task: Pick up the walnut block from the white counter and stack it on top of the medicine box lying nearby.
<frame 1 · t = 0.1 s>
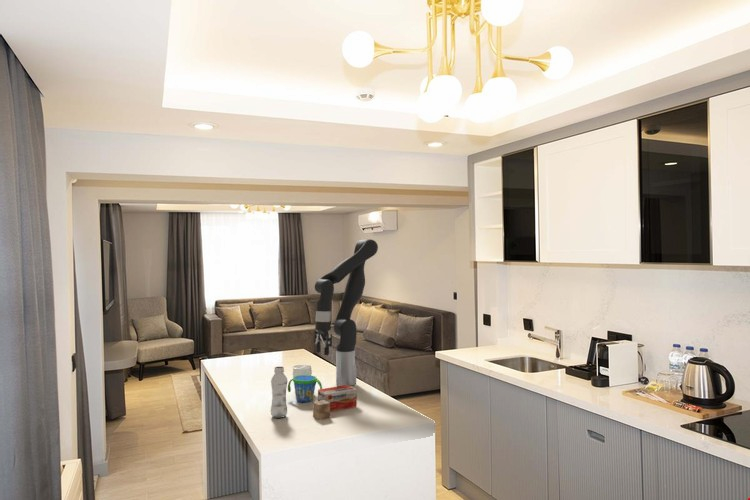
hand: (322, 353, 249), 17 cm above the countertop, tool pointing down, fingers open, 8 cm apart
walnut block: (321, 417, 206), on the countertop
cup: (302, 392, 243), on the countertop
medicine box: (337, 408, 220), on the countertop
snack cup: (304, 400, 230), on the countertop
plastic bottle: (279, 417, 207), on the countertop
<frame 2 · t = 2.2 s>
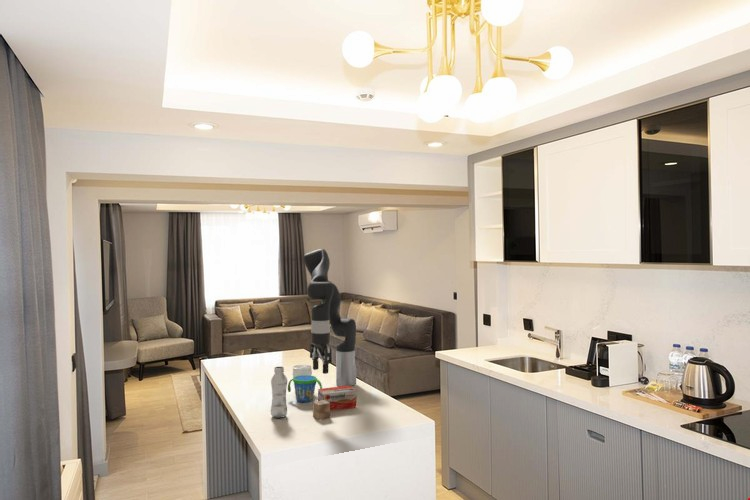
hand: (320, 371, 206), 18 cm above the countertop, tool pointing down, fingers open, 8 cm apart
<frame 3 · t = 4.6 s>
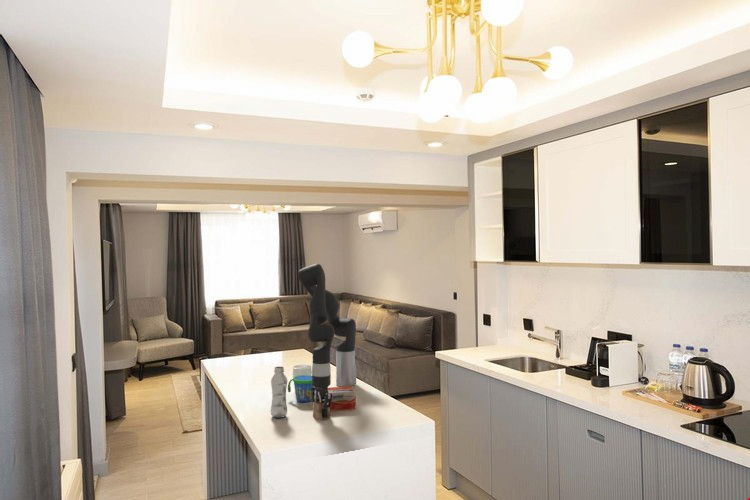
hand: (321, 415, 206), 1 cm above the countertop, tool pointing down, fingers closed on walnut block, 5 cm apart
walnut block: (321, 417, 206), on the countertop, touching gripper
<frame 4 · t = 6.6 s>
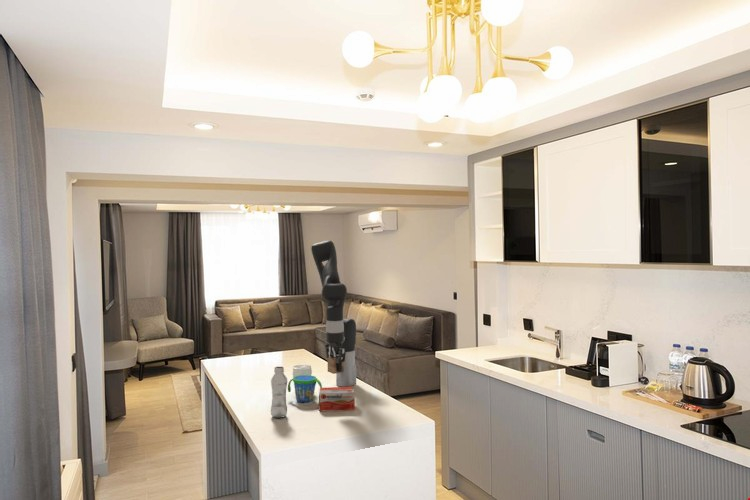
hand: (335, 370, 218), 16 cm above the countertop, tool pointing down, fingers closed on walnut block, 5 cm apart
walnut block: (335, 371, 218), point 16 cm above the countertop, touching gripper
when the fingers open (10 cm above the countertop, at t = 8.7 s): walnut block drops 1 cm, resting on medicine box.
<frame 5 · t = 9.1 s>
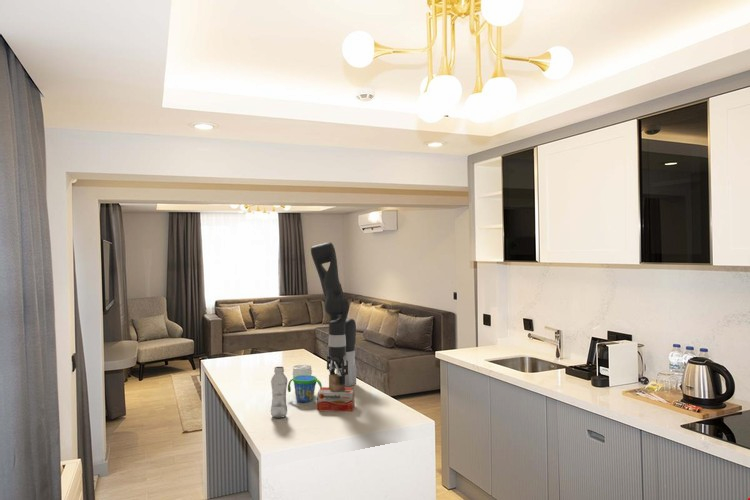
hand: (337, 382, 220), 11 cm above the countertop, tool pointing down, fingers open, 8 cm apart
walnut block: (336, 389, 220), point 8 cm above the countertop, touching medicine box
medicine box: (336, 408, 218), on the countertop, touching walnut block
everything else where it was.
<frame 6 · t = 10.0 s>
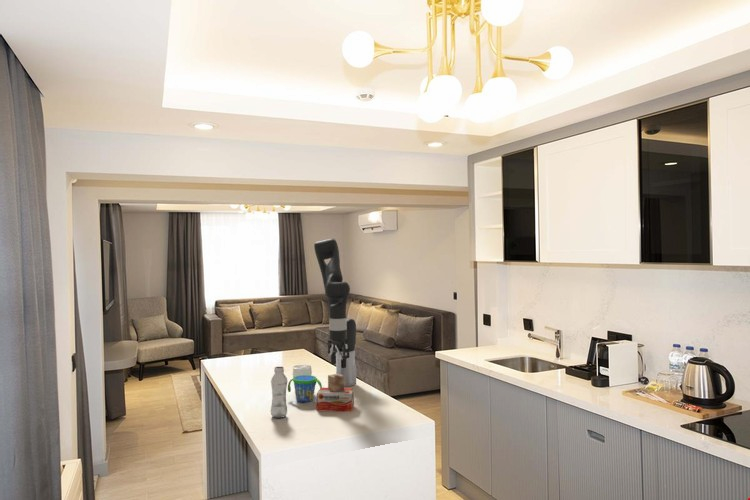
hand: (338, 366, 220), 18 cm above the countertop, tool pointing down, fingers open, 8 cm apart
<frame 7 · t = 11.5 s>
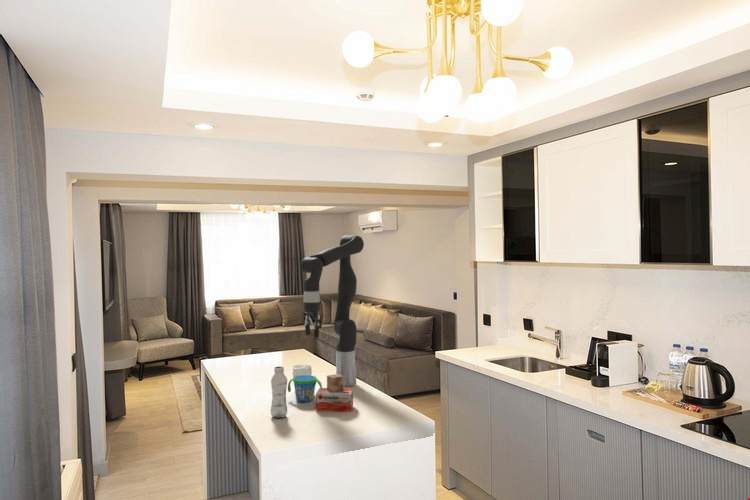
hand: (311, 336, 235), 28 cm above the countertop, tool pointing down, fingers open, 8 cm apart
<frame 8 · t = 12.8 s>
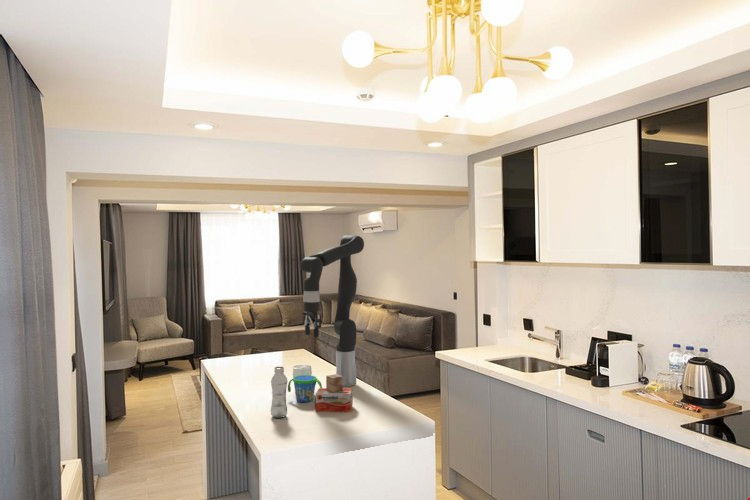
hand: (311, 335, 235), 28 cm above the countertop, tool pointing down, fingers open, 8 cm apart
at the end: walnut block inside the target area on the medicine box (0.7 cm from its centre), point 8.2 cm above the medicine box's base; walnut block tilted 0°; the gripper is holding nothing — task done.
